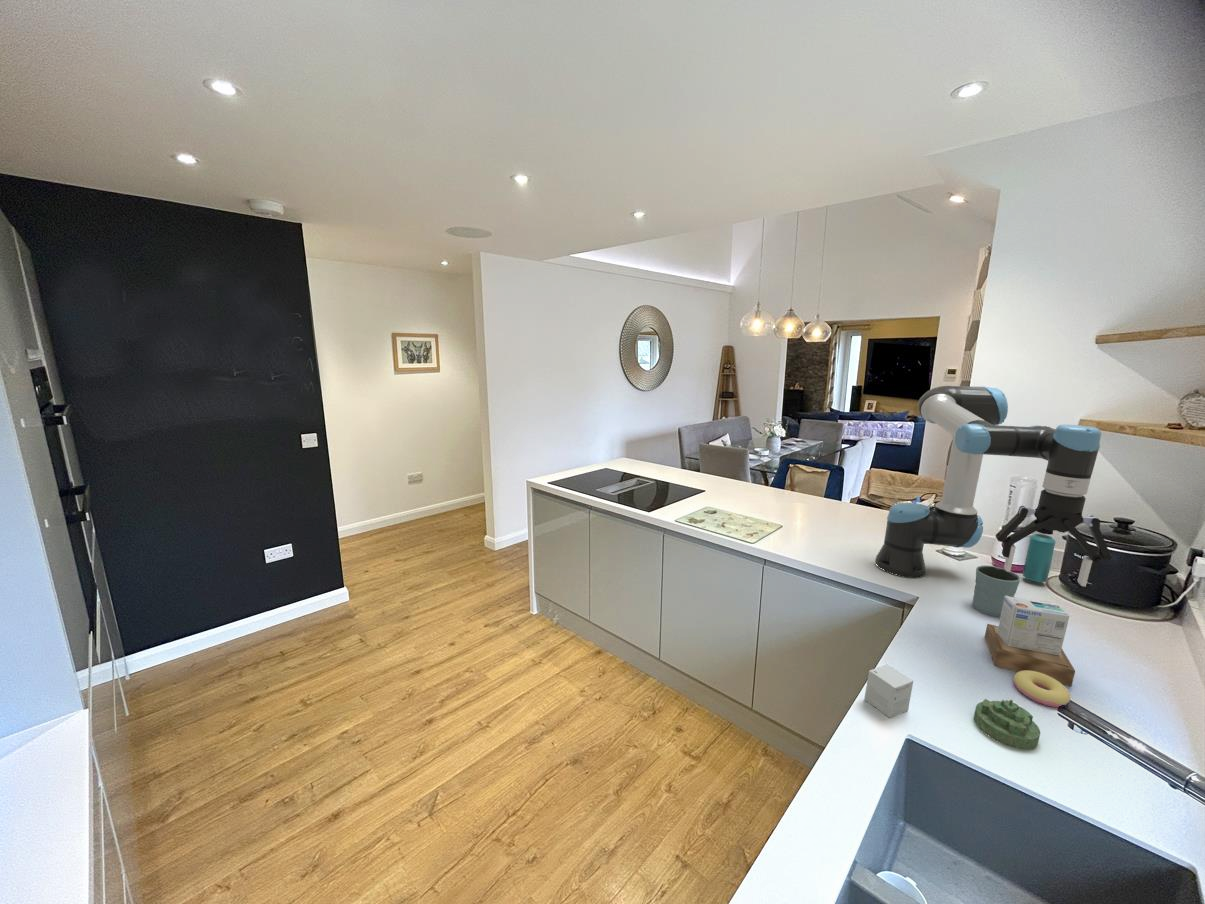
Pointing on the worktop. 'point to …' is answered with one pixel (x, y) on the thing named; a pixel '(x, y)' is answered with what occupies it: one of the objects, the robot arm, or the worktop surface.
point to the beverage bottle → (1039, 556)
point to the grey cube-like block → (888, 690)
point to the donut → (1041, 688)
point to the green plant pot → (993, 588)
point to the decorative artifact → (1007, 724)
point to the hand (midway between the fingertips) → (1043, 576)
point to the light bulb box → (1032, 625)
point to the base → (1028, 658)
